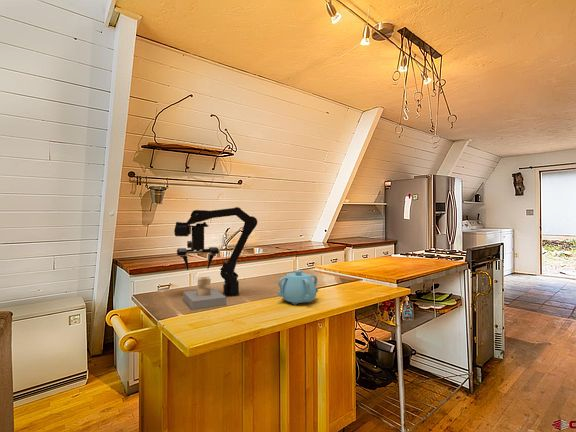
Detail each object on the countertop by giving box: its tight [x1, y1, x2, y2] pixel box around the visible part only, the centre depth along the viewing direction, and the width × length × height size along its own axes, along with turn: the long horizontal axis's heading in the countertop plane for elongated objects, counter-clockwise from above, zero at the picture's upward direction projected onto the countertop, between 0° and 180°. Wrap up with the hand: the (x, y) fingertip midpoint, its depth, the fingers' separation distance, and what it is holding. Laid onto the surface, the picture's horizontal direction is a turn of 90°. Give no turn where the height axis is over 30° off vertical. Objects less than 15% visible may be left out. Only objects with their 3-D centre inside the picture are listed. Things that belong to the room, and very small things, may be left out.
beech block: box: [196, 276, 212, 296], centre depth 137 cm, size 5×5×7 cm
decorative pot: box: [277, 269, 319, 305], centre depth 140 cm, size 16×16×14 cm
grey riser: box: [182, 287, 227, 311], centre depth 137 cm, size 14×18×4 cm
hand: (197, 269), depth 150 cm, fingers open, 9 cm apart
